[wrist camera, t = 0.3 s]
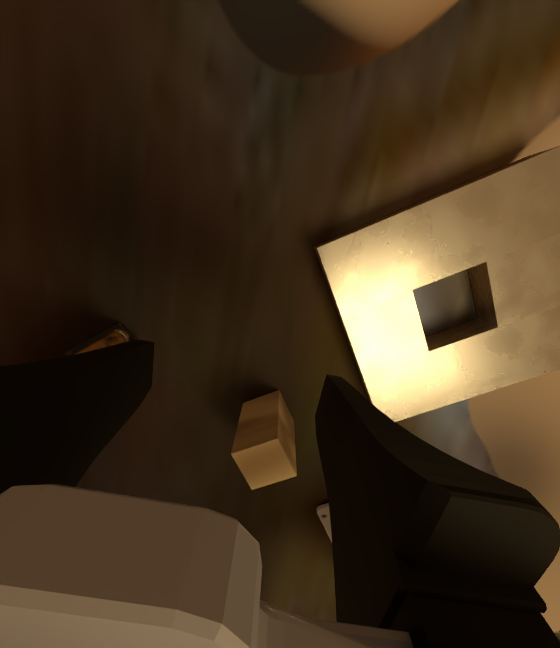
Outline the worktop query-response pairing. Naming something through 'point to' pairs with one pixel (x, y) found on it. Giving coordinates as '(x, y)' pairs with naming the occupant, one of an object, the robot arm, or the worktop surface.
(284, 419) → the wooden block
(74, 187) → the worktop surface
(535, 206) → the plate with square hole
